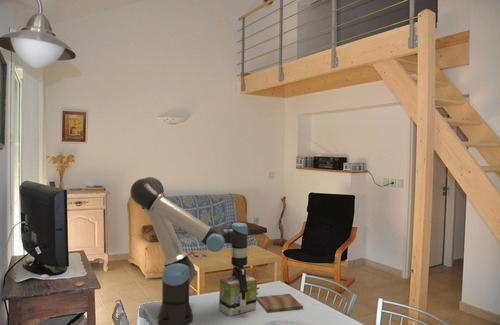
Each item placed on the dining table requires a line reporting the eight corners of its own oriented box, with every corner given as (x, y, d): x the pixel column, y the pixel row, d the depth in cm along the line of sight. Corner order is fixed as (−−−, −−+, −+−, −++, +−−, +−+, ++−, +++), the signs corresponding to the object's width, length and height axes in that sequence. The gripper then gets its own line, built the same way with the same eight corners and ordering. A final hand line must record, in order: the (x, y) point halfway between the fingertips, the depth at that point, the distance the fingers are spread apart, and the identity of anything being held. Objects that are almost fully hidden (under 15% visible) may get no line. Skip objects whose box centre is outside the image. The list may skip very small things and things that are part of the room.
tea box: (230, 317, 181) (230, 284, 181) (218, 309, 189) (219, 278, 189) (256, 309, 190) (257, 278, 189) (244, 303, 198) (245, 273, 198)
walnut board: (267, 312, 186) (267, 309, 186) (256, 299, 203) (256, 296, 203) (303, 309, 192) (303, 306, 192) (289, 296, 208) (289, 293, 208)
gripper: (254, 262, 178) (254, 309, 179) (240, 249, 202) (239, 291, 203) (238, 263, 176) (238, 311, 177) (225, 250, 200) (225, 292, 201)
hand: (239, 300), depth 190 cm, fingers open, 13 cm apart
